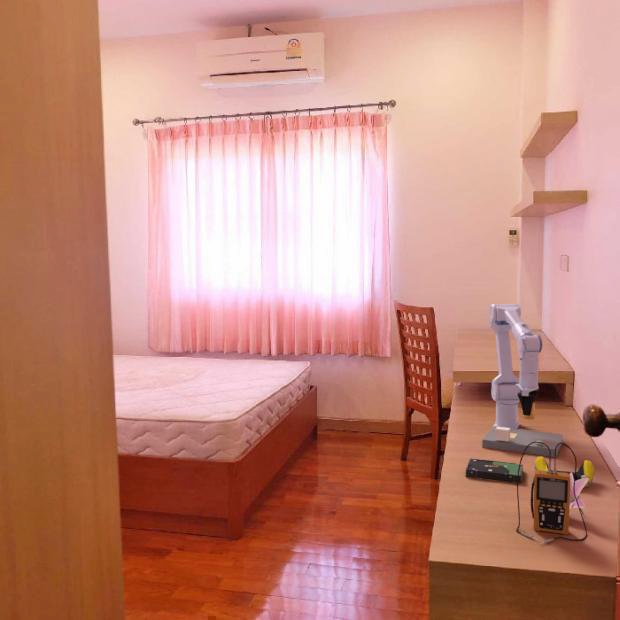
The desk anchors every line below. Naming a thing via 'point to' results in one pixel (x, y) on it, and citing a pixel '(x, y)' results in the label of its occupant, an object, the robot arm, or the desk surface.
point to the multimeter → (550, 500)
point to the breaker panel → (525, 441)
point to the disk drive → (494, 470)
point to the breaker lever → (502, 434)
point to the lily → (577, 492)
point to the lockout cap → (531, 413)
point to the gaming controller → (583, 472)
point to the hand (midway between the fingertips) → (527, 413)
